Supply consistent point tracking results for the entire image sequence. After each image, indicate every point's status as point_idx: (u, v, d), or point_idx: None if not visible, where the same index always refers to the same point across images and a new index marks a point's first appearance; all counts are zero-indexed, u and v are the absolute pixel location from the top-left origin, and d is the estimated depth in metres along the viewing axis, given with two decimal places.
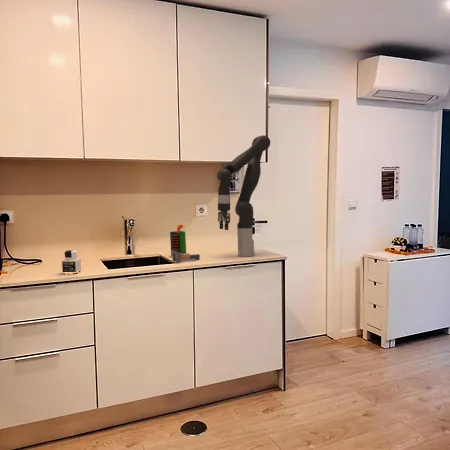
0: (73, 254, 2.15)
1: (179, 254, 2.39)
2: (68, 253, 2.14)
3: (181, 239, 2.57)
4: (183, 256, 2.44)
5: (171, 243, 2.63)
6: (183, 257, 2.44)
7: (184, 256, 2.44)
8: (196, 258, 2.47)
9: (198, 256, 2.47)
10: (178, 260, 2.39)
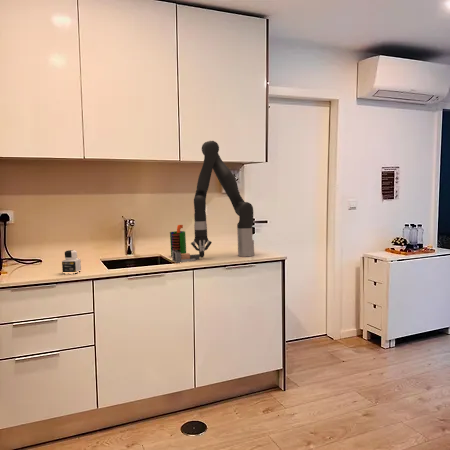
0: (73, 254, 2.15)
1: (179, 254, 2.39)
2: (68, 253, 2.14)
3: (181, 239, 2.57)
4: (183, 256, 2.44)
5: (171, 243, 2.63)
6: (183, 257, 2.44)
7: (184, 256, 2.44)
8: (196, 258, 2.47)
9: (198, 256, 2.47)
10: (178, 260, 2.39)
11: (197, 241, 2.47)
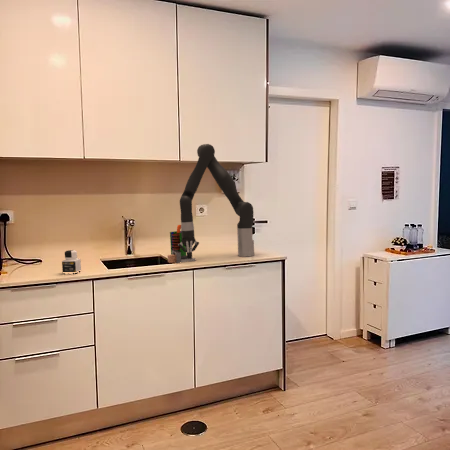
0: (73, 254, 2.15)
1: (179, 254, 2.39)
2: (68, 253, 2.14)
3: (181, 239, 2.57)
4: (170, 257, 2.41)
5: (171, 243, 2.63)
6: (170, 258, 2.41)
7: (171, 257, 2.41)
8: None
9: (186, 257, 2.45)
10: (178, 260, 2.39)
11: (184, 242, 2.44)
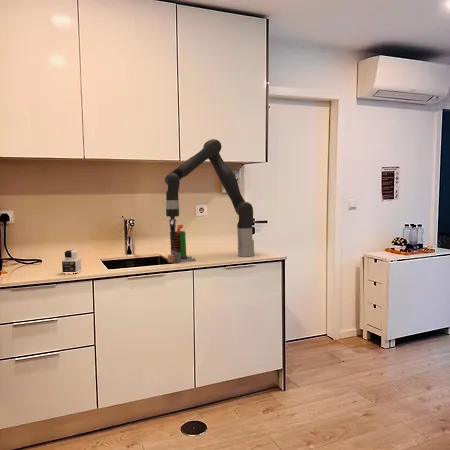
0: (73, 254, 2.15)
1: (179, 254, 2.39)
2: (68, 253, 2.14)
3: (181, 239, 2.57)
4: (170, 257, 2.41)
5: (171, 243, 2.63)
6: (170, 258, 2.41)
7: (171, 257, 2.41)
8: None
9: (186, 257, 2.45)
10: (178, 260, 2.39)
11: (174, 221, 2.38)
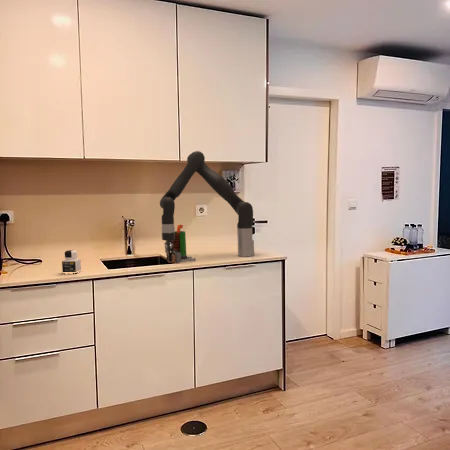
0: (73, 254, 2.15)
1: (179, 254, 2.39)
2: (68, 253, 2.14)
3: (181, 239, 2.57)
4: None
5: None
6: None
7: None
8: None
9: (186, 257, 2.45)
10: (178, 260, 2.39)
11: None
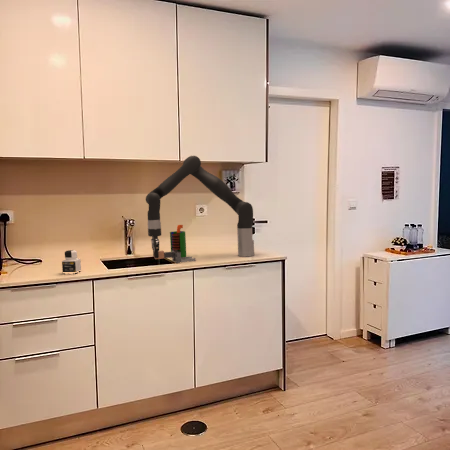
0: (73, 254, 2.15)
1: (179, 254, 2.39)
2: (68, 253, 2.14)
3: (181, 239, 2.57)
4: None
5: (171, 243, 2.63)
6: None
7: (158, 253, 2.39)
8: (170, 255, 2.42)
9: (172, 253, 2.42)
10: (178, 260, 2.39)
11: (157, 240, 2.37)
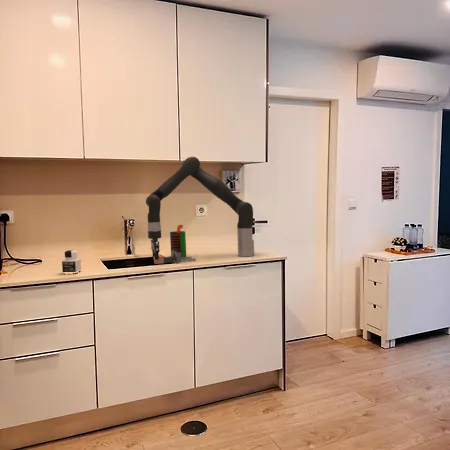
0: (73, 254, 2.15)
1: (179, 254, 2.39)
2: (68, 253, 2.14)
3: (181, 239, 2.57)
4: None
5: (171, 243, 2.63)
6: None
7: None
8: (170, 260, 2.42)
9: (172, 258, 2.42)
10: (178, 260, 2.39)
11: (157, 241, 2.38)
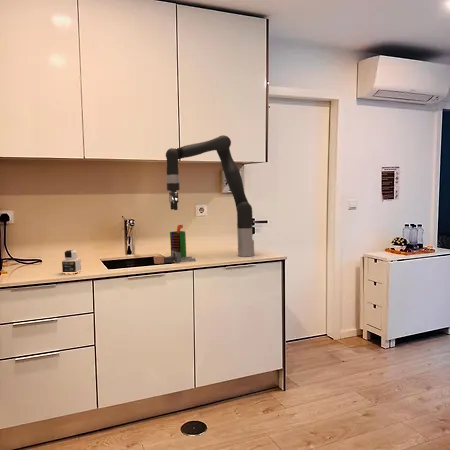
0: (73, 254, 2.15)
1: (179, 254, 2.39)
2: (68, 253, 2.14)
3: (181, 239, 2.57)
4: (156, 258, 2.39)
5: (171, 243, 2.63)
6: (156, 259, 2.39)
7: (157, 258, 2.39)
8: (170, 260, 2.42)
9: (172, 258, 2.42)
10: (178, 260, 2.39)
11: None
